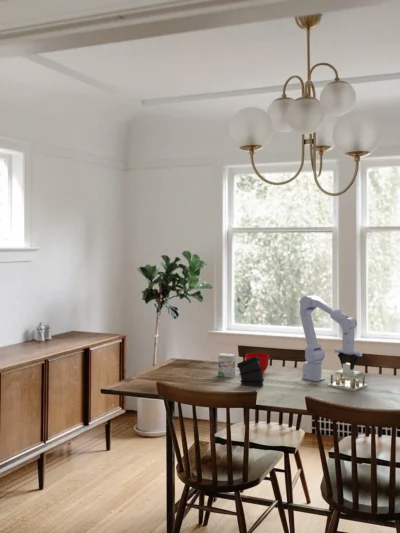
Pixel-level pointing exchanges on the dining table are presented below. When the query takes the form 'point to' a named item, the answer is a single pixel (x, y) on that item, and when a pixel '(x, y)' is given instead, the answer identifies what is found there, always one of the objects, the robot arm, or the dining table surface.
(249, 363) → the magazine
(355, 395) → the dining table surface
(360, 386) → the plate
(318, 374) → the robot arm
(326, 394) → the dining table surface
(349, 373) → the sage board
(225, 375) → the ink box
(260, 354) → the ceramic cup
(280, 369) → the dining table surface
